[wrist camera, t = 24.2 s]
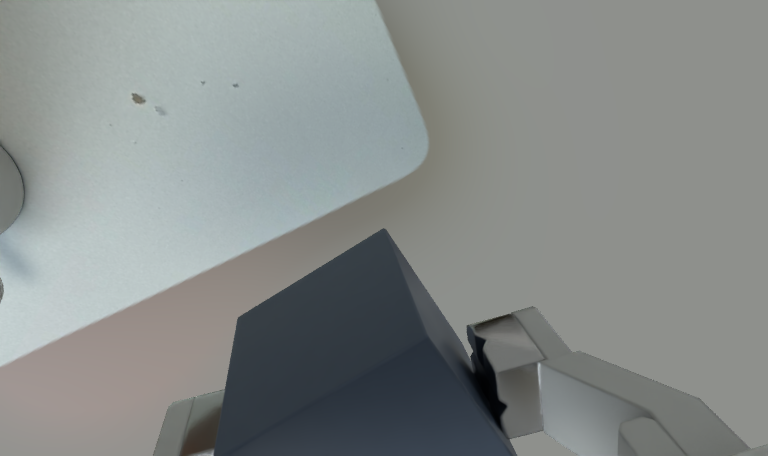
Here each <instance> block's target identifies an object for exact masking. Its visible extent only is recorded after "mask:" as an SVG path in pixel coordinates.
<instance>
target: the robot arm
mask: <svg viewBox="0 0 768 456" xmlns="http://www.w3.org/2000/svg"><path fill="white" fill-rule="evenodd" d="M467 336H468V341H469V343H470V345H471V347H472V349H473V353H472V355H471V356H470V357H471V362H472V368H473V372H474V375H475V377H476V379H477V381H478V383H479V385H480V387H481V389H482V391H483V393H484V395H485V396H486V398H487V400H488V401H489V403H490V408H491V410H492V412H493V414H494V416H495V418H496V420H497V422H498V424H499V426H500V429H501V431H502V433H503V434H504V436H505V437H506V438H507V440H508V439H512V438H516V437H520V436H524V435H528V434H532V433H536V432H540V431H544V433H546V434H547V435H549V436H550V437H552V438H553V439H555V440H556V441H557V442H559V443H560V444H562V445H563V446H565V447H566V448H568V449H569V450H570V451H572V452H573V453H575V454H576V455H578V456H768V444H767V445H763V446H760V447H757V448H753V449H751V448H749V447H748V446H747V445H746V444H745V443H744V442H743V441H742V440H741V439H740V438H739V437H738V436H737V435H736V434H735V433H734V432H733V431H732V430H731V429H730V428H729V427H728V426H727V425H726V424H725V423H724V422H723V421H722V420H721V419H720V418H719V417H718V416H717V415H716V414H715V413H714V412H713V411H712V410H711V409H710V408H709V407H708V406H707V405H706V404H705V403H704V402H703V401H702V400H701V399H699V398H697V397H694V396H692V395H689V394H687V393H684V392H682V391H679V390H677V389H674V388H672V387H669V386H667V385H664V384H661V383H659V382H657V381H654V380H652V379H649V378H646V377H644V376H641V375H639V374H636V373H634V372H631V371H629V370H626V369H624V368H621V367H619V366H616V365H614V364H611V363H608V362H606V361H603V360H601V359H599V358H596V357H593V356H591V355H588V354H586V353H583V352H581V351H576V352H573V353H572V351H571V350H570V349H569V348H568V347H567V345H566V344H565V343H564V341H563V340H562V339H561V338H560V337H559V335H558V334H557V333H556V332H555V330H554V329H553V328H552V327H551V325H550V324H549V323H548V322H547V320H546V319H545V318H544V317H543V315H542V314H541V313H540V312H539V310H538V309H537V308H535V307H533V306H532V307H529V308H525V309H522V310H518V311H515V312H512V313H511V314H507V315H503V316H499V317H496V318H492V319H488V320H485V321H482V322H477V323H474V324H470V325H467ZM224 392H225V389H224V390H220V391H216V392H212V393H208V394H204V395H200V396H197V397H193V398H189V399H185V400H181V401H177V402H173V403H172V404H171V405H170V406H169V407H168V410H167V413H166V416H165V419H164V422H163V425H162V429H161V432H160V435H159V438H158V441H157V444H156V447H155V450H154V454H153V456H213V454H214V448H215V443H216V437H217V431H218V426H219V420H220V415H221V409H222V403H223V398H224Z"/></svg>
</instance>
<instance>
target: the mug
mask: <svg viewBox="0 0 768 456" xmlns="http://www.w3.org/2000/svg"><path fill="white" fill-rule="evenodd" d="M23 199H24V188H23V183H22V179H21V176H20V173H19V171H18V169H17V167H16V165H15V163H14V162H13V160H12V159H11V157H10V156H9V155H8V154H7V153H6V151H5V150H4V149H3V148H2V147H1V146H0V235H1V234H2V233H3V232H4V231H5V230H6V229H8V228H9V227H10V226H11V225H12V224H13V222H14V221H15V220H16V218H17V216H18V215H19V213H20V211H21V208H22V205H23ZM3 293H4V289H3V283H2V280H1V278H0V302H1V300H2V297H3Z"/></svg>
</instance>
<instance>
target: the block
mask: <svg viewBox="0 0 768 456" xmlns="http://www.w3.org/2000/svg"><path fill="white" fill-rule="evenodd" d="M213 456H517V454H516V452H515V450H514V448H513V446H512V444H511V442H510V440H509V439H508V440H507V438H506V437H505V436H504V434H503V433H502V431H501V429H500V426H499V424H498V422H497V420H496V418H495V416H494V414H493V412H492V410H491V408H490V403H489V401H488V400H487V398H486V396H485V395H484V393H483V391H482V389H481V387H480V385H479V383H478V381H477V379H476V377H475V375H474V372H473V368H472V363H471V361H470V359H469V357H468V355H467V352H466V350H465V349H464V346H463V344H462V342H461V341H460V339H459V338H458V336H457V335H456V333H455V332H454V330H453V329H452V327H451V326H450V324H449V323H448V322H447V320H446V319H445V317H444V315H443V314H442V312H441V311H440V310H439V308H438V306H437V305H436V304H435V302H434V300H433V299H432V297H431V296H430V294H429V293H428V292H427V290H426V289H425V287H424V286H423V284H422V283H421V281H420V280H419V278H418V277H417V275H416V274H415V272H414V271H413V269H412V268H411V266H410V265H409V263H408V262H407V260H406V259H405V257H404V256H403V254H402V253H401V251H400V250H399V248H398V247H397V245H396V244H395V242H394V241H393V239H392V238H391V236H390V235H389V233H388V232H387V230H386V229H381V230H380V231H378V232H377V233H375V234H373V235H372V236H370V237H368V238H367V239H365V240H363V241H362V242H360V243H359V244H357V245H355V246H354V247H352V248H350V249H349V250H347V251H346V252H344V253H342V254H341V255H339V256H337V257H336V258H334V259H333V260H331V261H329V262H328V263H326V264H324V265H323V266H322V267H319V268H318V269H316V270H315V271H313V272H312V273H310V274H308V275H307V276H305V277H303V278H302V279H300V280H298V281H297V282H295V283H293V284H292V285H290V286H289V287H287V288H285V289H284V290H282V291H280V292H279V293H277V294H275V295H274V296H272V297H271V298H269V299H267V300H266V301H264V302H262V303H261V304H259V305H258V306H256V307H254V308H253V309H251V310H249V311H248V312H246V313H244V314H243V315H241V316H240V317H238V319H237V325H236V331H235V336H234V342H233V348H232V353H231V358H230V364H229V370H228V375H227V381H226V387H225V392H224V398H223V403H222V409H221V415H220V420H219V426H218V431H217V437H216V443H215V448H214V454H213Z"/></svg>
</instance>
